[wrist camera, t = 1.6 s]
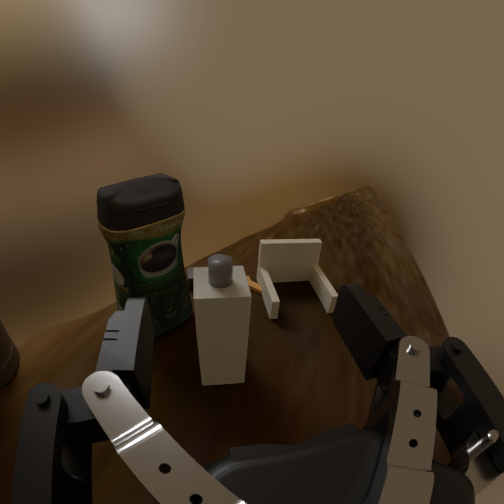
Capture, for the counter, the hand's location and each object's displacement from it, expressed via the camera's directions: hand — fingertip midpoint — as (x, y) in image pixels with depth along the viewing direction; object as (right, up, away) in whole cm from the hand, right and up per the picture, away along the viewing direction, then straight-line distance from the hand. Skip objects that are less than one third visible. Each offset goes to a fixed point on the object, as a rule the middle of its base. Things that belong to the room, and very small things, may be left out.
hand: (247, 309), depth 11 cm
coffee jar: (-13, -7, +25) cm, 28 cm away
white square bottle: (-3, -11, +18) cm, 21 cm away
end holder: (+6, -4, +31) cm, 32 cm away
